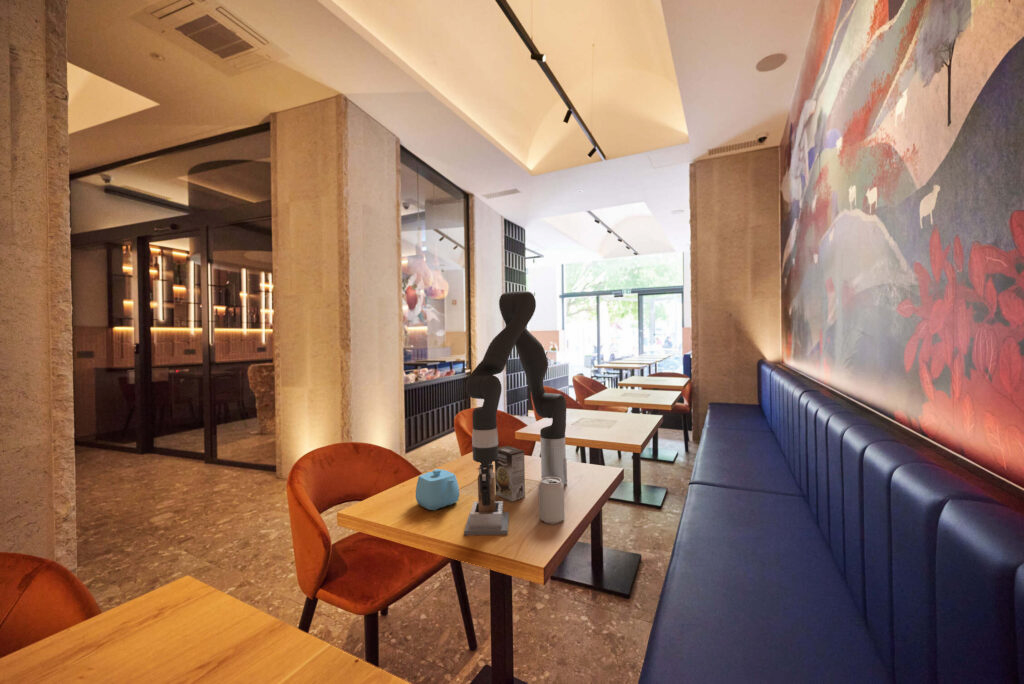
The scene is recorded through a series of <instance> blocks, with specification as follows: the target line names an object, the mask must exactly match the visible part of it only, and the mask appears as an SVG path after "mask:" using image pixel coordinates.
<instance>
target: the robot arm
mask: <svg viewBox="0 0 1024 684" xmlns="http://www.w3.org/2000/svg"><path fill="white" fill-rule="evenodd" d="M498 306H499V307H498V309H499V311H500V314H501V317H502V319H503V321H504V323H505V327H504V328H503V329H502V330H500V332H499V333H498V334H497V335H496V336H495V337H494V338H493V339H492V341H491V342H490V343H489V344H488V347H487V349H486V351H485V354H484V355H483V358H482V360H481V361H480V362H479V363H478V365H476V367H475V368H474V370H472V372H471V373H470V374H469V376H468V378H467V380H466V384H465V391H466V394H467V395H468V397H470V398H472V399H477V400H483V403H482V406H477V407H475V408H474V409H473V411H472V416H471V417H472V435H471V442H472V444H471V445H472V446H471V447H472V460H473V461H474V462H476V463H479V467H478V475H479V474H480V475H479V477H480V492H481V493H482V505H483V506H489V505H490V491H491V490H490V484H491V483H492V473H494V472H493V471H494V464H493V462H494V463H495V461H496V460H497V459H498V458H499V455H498V448H499V435H498V425H497V422H498V421H497V420H498V419H497V414H498V413H497V412H498V407H499V404H500V400H501V395H502V387H503V386H502V383H501V381H500V379H499V377H497V376H496V375H499V374H501V373H503V371H504V370H505V367H506V364H507V362H508V360H509V358H510V356H511V353H512V351H513V348H514V347H515V348H516V351H517V355H518V358H519V361H520V364H521V367H522V370H523V371H524V374H525V377H526V381H527V383H528V386H529V390H530V394H531V398H532V402H533V407H534V410H535V413H536V414H537V416H538V417H540V418H543V419H551V421H552V422H551V424H550V425H547V426H544V427H542V428H541V429H540V435H539V436H540V437H539V438H540V466H541V467H540V470H541V471H540V472H541V475H540V476H541V479H542V478H544V477H557V478H560V479H561V482H562V483H563V485H564V486H568V469H567V467H568V466H567V465H568V464H567V463H568V462H567V457H566V455H567V454H566V451H567V450H566V449H567V448H566V431H567V430H566V429H567V400H566V397H565V395H563V394H561V393H552V392H551V393H550V392H546V390H545V388H544V379H545V377H546V374H547V372H548V368H549V361H548V357H547V355H546V350H545V348H544V346H543V344H542V342H540V341H539V340H538V339H537V337H535V336H534V335H533V333H531V332H530V330H528V328H527V325H529V322H530V321H531V319H532V318H533V316H534V314H535V312H536V307H537V302H536V297H535V295H534V294H533V292H531V291H528V290H518V291H517V290H516V291H506V292H504V293H502V294H501V296H500V297H499V300H498ZM489 477H490V480H489ZM483 486H487V488H483Z"/></svg>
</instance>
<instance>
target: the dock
mask: <svg viewBox="0 0 1024 684" xmlns="http://www.w3.org/2000/svg"><path fill="white" fill-rule="evenodd" d="M495 509H496V512H479V505H478V501H473V503H472V506H471V509H470V512H469V514H468V516H467V517H468V518H467V520H466V524H465V528H464V531H463V532H464V533H463V534H464V536H500V535H501V536H505V535H506V536H507V535H508V534H509V533H508V532H509V519H510V513H509V511H504V501H503V500H497V501H496V500H495Z"/></svg>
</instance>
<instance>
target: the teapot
mask: <svg viewBox="0 0 1024 684" xmlns="http://www.w3.org/2000/svg"><path fill="white" fill-rule="evenodd" d="M459 498H460V488H459V483H458V479H457V477H456V474H455V473H453V472H451V471H449V470H446V469H440V468H435V469H433V470H432V471H427V472H426V473H423V474H421V475H418V478H417V483H416V488H415V499H416V502H417V504H418V505H419V506H421V507H423V508H425V509H427V510H430V511H438V510H439V509H440V508H441V509H442V508H444V507H447V505H450V506H452V505H453V504H455V503H457V502H458V501H459ZM451 504H452V505H451ZM437 509H438V510H437Z"/></svg>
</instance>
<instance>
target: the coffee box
mask: <svg viewBox="0 0 1024 684" xmlns="http://www.w3.org/2000/svg"><path fill="white" fill-rule="evenodd" d="M498 455H499V458H498V459H497V460H496V461H494V475H495V496H498V497H500V496H501V498H503V499H506V500H508V501H509V502H512V501H513V502H515V501H518V500H521V499H524V498H525V497H526V483H525V482H526V477H525V476H526V475H525V473H526V472H525V470H526V469H525V450H524V449H519V448H516V447H513V446H510V445H506V446H501V447H498ZM523 497H524V498H523ZM520 498H521V499H520ZM517 499H518V500H517Z"/></svg>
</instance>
